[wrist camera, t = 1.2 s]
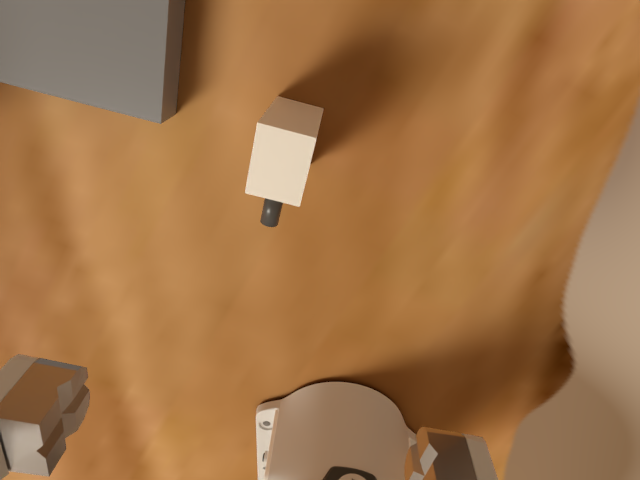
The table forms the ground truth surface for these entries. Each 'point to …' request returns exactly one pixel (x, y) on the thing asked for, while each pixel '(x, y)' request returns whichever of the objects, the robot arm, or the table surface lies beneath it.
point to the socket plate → (96, 52)
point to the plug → (282, 155)
